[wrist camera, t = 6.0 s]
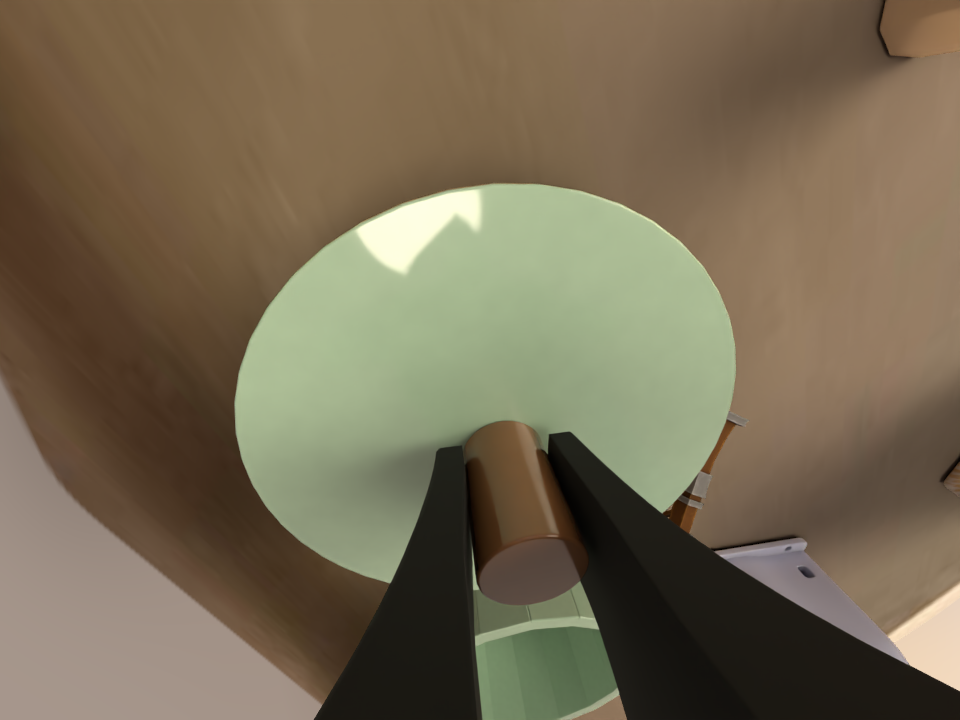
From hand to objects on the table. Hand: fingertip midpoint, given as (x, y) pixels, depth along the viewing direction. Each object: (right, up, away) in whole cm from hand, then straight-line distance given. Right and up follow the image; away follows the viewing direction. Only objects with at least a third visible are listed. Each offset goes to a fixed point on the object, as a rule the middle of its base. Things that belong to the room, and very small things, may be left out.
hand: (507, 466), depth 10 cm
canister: (+1, -12, +14) cm, 18 cm away
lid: (0, +1, +1) cm, 1 cm away
